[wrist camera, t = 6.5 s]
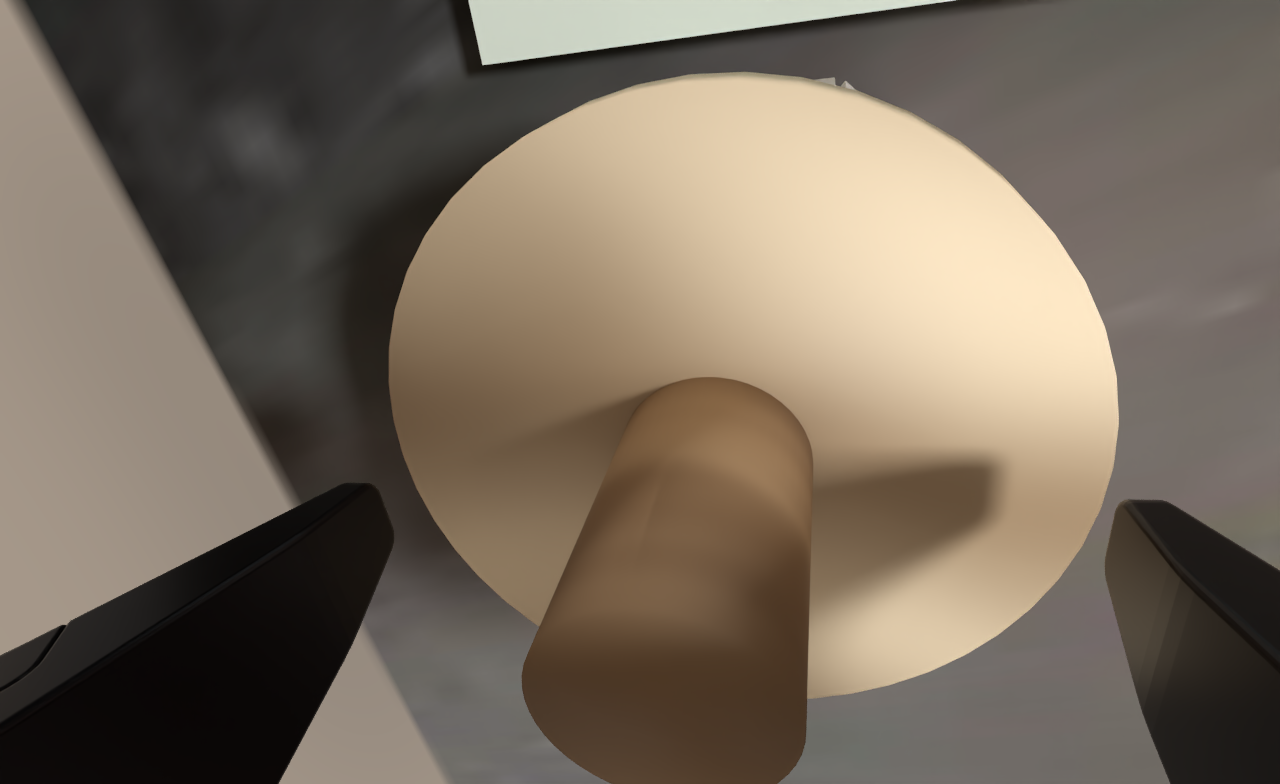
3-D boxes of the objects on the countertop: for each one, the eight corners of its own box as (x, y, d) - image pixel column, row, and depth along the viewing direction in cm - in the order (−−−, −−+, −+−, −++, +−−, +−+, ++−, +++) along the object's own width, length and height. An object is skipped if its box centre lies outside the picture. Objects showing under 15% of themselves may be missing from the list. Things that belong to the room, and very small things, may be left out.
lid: (1043, 684, 12) (1159, 1063, 8) (493, 638, 14) (360, 908, 10) (1172, 17, 7) (1622, 84, 3) (329, 117, 10) (-37, 229, 6)
